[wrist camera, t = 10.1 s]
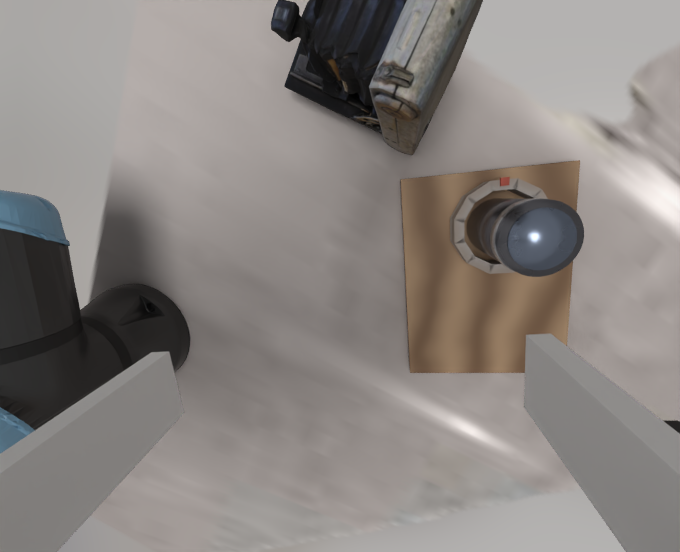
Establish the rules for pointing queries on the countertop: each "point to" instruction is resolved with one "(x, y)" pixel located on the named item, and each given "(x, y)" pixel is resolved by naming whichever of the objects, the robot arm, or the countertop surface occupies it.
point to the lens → (527, 234)
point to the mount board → (477, 273)
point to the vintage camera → (377, 58)
